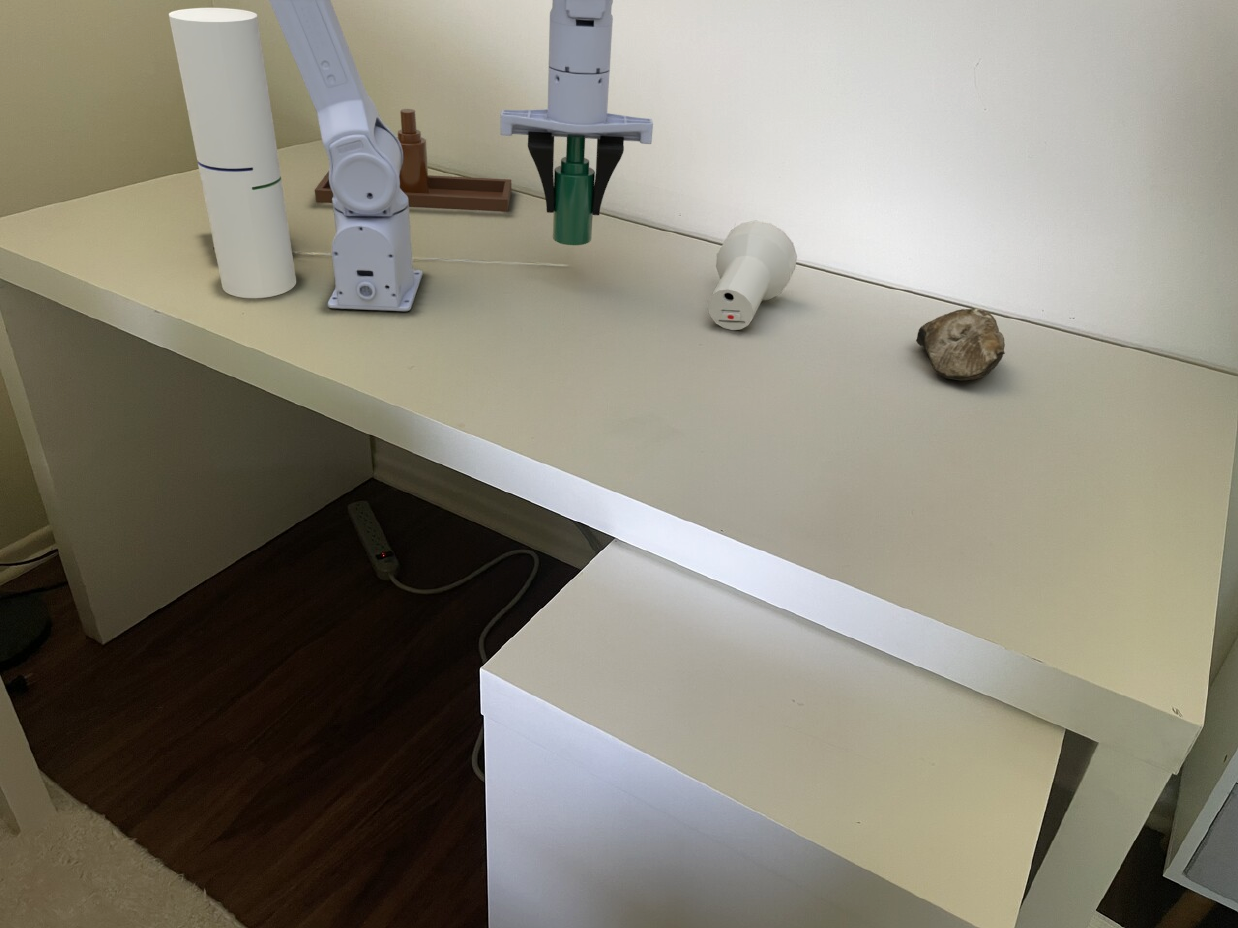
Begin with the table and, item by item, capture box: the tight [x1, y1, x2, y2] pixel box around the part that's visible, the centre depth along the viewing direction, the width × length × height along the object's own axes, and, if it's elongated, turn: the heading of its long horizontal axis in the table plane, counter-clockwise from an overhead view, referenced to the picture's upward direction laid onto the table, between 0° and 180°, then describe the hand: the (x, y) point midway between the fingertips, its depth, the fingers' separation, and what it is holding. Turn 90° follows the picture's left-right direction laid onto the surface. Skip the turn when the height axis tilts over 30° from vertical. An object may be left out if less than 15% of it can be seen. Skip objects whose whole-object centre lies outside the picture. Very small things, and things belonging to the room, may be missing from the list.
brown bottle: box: [396, 108, 429, 194], centre depth 114 cm, size 4×4×10 cm
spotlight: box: [706, 220, 798, 331], centre depth 93 cm, size 8×11×8 cm
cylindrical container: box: [168, 7, 297, 299], centre depth 86 cm, size 7×7×25 cm
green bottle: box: [552, 135, 596, 246], centre depth 91 cm, size 4×4×10 cm
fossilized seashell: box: [915, 308, 1006, 382], centre depth 87 cm, size 8×7×10 cm
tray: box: [314, 170, 512, 213], centre depth 117 cm, size 8×24×2 cm, turn 92°
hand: (573, 210), depth 93 cm, fingers closed on green bottle, 4 cm apart
